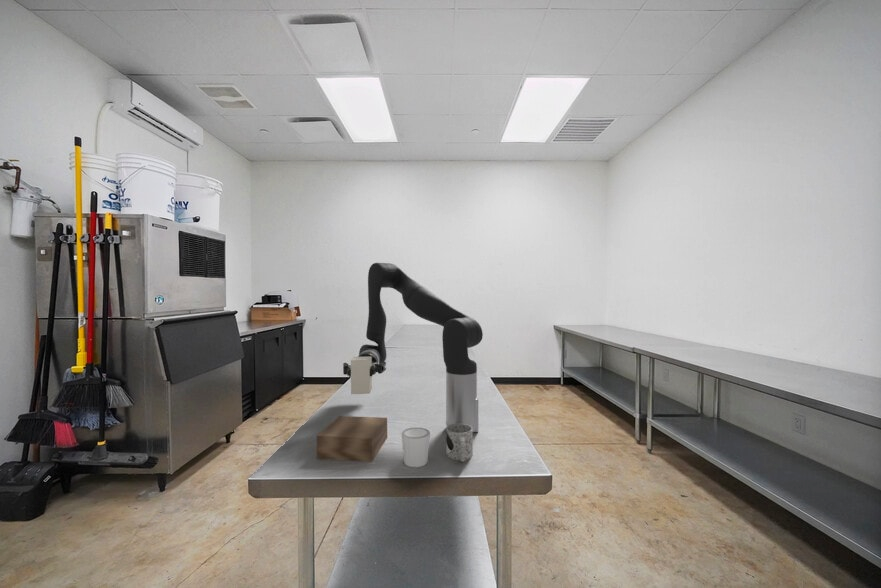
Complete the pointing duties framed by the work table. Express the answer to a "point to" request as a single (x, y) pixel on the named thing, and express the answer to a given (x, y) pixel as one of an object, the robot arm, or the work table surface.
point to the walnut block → (352, 438)
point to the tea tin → (361, 375)
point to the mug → (459, 441)
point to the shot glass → (415, 446)
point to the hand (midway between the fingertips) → (360, 373)
